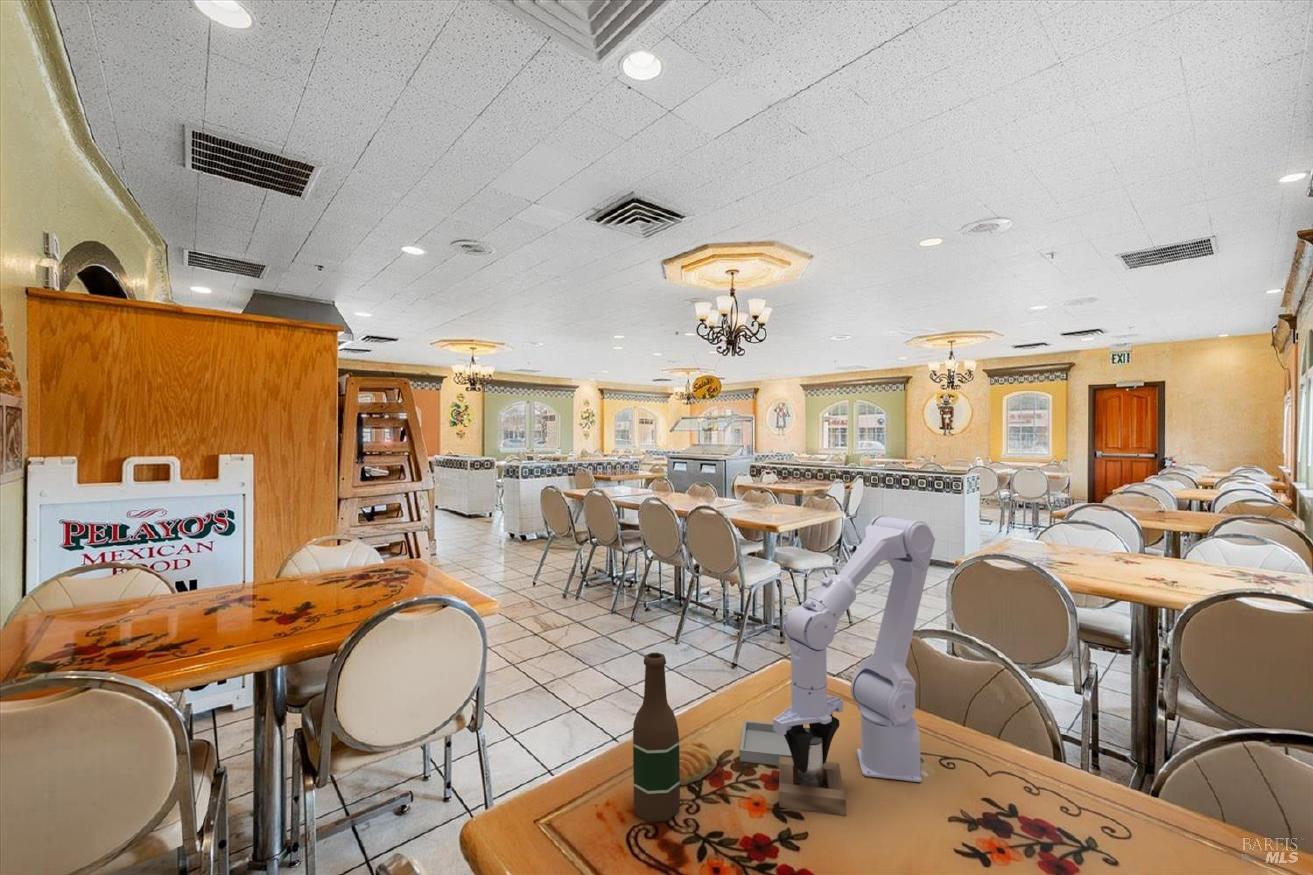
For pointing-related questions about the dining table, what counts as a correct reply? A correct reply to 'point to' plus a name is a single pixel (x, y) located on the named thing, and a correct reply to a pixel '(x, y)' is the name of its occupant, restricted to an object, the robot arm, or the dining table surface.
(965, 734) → the dining table surface
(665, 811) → the beer bottle
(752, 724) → the tray
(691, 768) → the pastry
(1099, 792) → the dining table surface
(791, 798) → the eye block
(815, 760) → the steel pin
